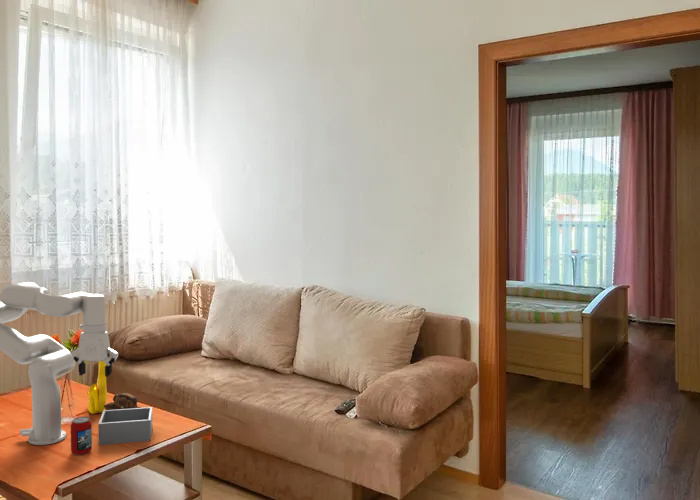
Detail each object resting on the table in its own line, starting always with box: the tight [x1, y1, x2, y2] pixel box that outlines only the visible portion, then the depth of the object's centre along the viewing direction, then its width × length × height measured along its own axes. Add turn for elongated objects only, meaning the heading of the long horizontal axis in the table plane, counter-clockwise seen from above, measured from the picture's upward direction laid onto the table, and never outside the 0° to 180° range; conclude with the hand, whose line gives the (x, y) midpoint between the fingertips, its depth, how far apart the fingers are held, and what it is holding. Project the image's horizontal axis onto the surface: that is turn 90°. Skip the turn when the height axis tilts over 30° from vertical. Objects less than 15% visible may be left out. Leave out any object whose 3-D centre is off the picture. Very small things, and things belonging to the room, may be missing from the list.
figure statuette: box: [86, 361, 108, 414], centre depth 247 cm, size 18×8×22 cm, turn 33°
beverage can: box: [70, 416, 93, 456], centre depth 208 cm, size 7×7×12 cm
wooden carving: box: [104, 392, 143, 410], centre depth 241 cm, size 16×5×10 cm, turn 81°
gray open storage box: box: [97, 406, 153, 446], centre depth 224 cm, size 18×14×8 cm
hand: (95, 375), depth 213 cm, fingers open, 9 cm apart
